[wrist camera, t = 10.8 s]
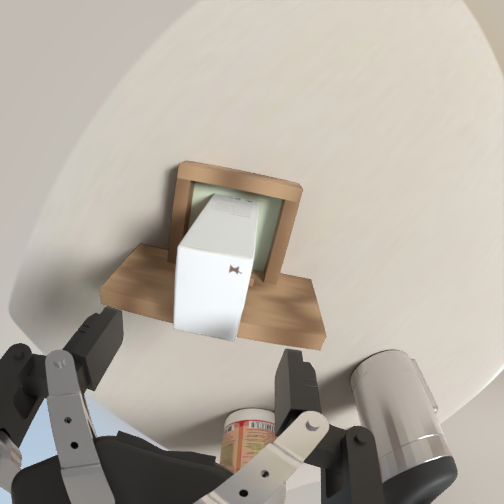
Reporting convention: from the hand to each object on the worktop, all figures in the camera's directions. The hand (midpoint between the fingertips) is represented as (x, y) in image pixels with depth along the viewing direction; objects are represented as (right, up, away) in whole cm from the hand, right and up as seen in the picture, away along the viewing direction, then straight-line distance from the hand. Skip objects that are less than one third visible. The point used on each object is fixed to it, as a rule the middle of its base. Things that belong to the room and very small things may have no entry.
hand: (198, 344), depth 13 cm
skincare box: (+1, +7, +14) cm, 16 cm away
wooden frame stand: (+1, +7, +14) cm, 16 cm away
